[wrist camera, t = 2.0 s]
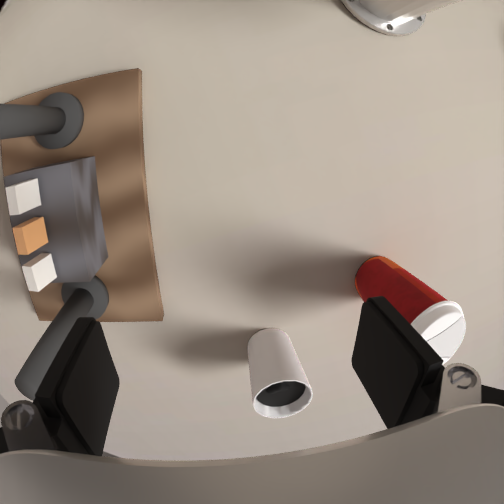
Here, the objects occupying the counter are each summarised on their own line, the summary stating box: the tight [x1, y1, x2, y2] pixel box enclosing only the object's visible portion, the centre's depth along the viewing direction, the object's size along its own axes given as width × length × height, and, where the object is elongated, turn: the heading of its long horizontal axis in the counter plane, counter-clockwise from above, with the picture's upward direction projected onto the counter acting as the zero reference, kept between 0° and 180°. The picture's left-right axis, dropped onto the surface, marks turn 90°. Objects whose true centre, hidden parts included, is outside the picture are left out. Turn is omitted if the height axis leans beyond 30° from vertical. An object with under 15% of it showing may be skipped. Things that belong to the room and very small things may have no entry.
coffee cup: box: [355, 256, 466, 365], centre depth 31 cm, size 8×8×15 cm
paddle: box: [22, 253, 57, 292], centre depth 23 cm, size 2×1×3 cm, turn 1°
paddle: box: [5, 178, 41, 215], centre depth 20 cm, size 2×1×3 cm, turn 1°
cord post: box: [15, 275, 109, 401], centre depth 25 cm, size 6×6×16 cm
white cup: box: [247, 328, 313, 418], centre depth 35 cm, size 7×7×10 cm
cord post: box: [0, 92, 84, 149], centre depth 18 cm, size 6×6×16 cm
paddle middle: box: [12, 217, 48, 255], centre depth 22 cm, size 2×1×3 cm, turn 1°
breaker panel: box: [1, 68, 164, 322], centre depth 27 cm, size 28×18×8 cm, turn 1°
